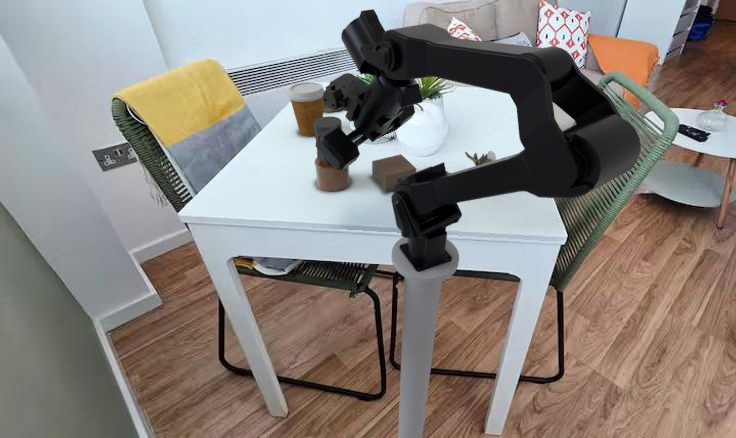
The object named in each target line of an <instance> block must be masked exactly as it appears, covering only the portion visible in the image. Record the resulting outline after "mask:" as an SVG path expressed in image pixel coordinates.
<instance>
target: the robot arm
mask: <svg viewBox="0 0 736 438" xmlns="http://www.w3.org/2000/svg"><path fill="white" fill-rule="evenodd" d="M340 38H341V42H342V43H343V45H344V46H345V47H344V48H345V49H346V50H347V52H348V54H349V56H350V57H351V60H352V62H353V63H354V64H355V67H356V68H357V70H358V72H359V74H360V75H370V76H372V78H371V80H370V82H369V84H368V83H367V82H365V80H363V79H361V78H359V77H357V76H356V75H354V74H353V73H350V72H345V73H343V74H342V75H340V76H338V77H336V78H334V79H333V80H331V81H330V82H329V84H328V85H327V86H325V89H324V90H325V92H323V101H324V103H325V105H327V106H328V107H330V108H331V109H333V110H337V109H338V108H341V110H343V111H345V112H346V113H345V116H344V117H345V119H347V120H348V122H350V123H352V122H353V127H354V129H353V130H352V131H350V132H349V133H348V134H346V133H345V131H344V130H343V129H342V130H341V128H340V127H338V126H332V127H331V128H329V129H328V130H326V131H325V132H323V133H322V134H320V135H319V136H318V138H317V140H316V139H315V148H316V150H317V149H318V150H319V151H320V152H321V153H322V154H323V155H324V156H325V157H326V158H327V159H328V160H329V162H330V163H331V164H332V165H333V166H334V167H335V168H336V169H337V170H341V171H342V170H344V169H345V168H347V167H348V166H349V167H350V166H351V165H353V163H355V162H356V161H357V159H358V158H359V157H360V155H361V152H360V150H359V147H360V146H361V145H362V144H364V143H365V142H366V141H367V140H369V141H370V142H371V143H374V142H375V141H376V140H378V139H381V138H383V136H384V135H386V134H389V133H391V132H393V131H395V130H397V131H398V130H399V128H401V127H402V126H403V125H405V124H406V123H407V122H409V121H410V120H411V119H412V118H413V117H414V115H415V114H416V110H415V105H418V104H421V103H423V100H424V99H423V98H424V97H423V93H422V92H421V89H420V83H417V80H416V79H423V78H438V79H441V80H447V81H451V82H455V83H460V84H463V85H467V86H472V87H477V88H480V89H484V90H490V91H494V92H497V93H502V94H507V95H509V96H510V99H511V100H512V102H513V104H514V105H515V107H516V117H517V128H518V135H519V136H518V137H519V141H520V143H521V145H522V146H523V150H521V151H520V152H518V153H515V154H512V155H508V156H505V157H501V158H498V159H496V160H494V161H491V162H488V163H484V164H481V165H478V166H475V165H474V166H471V167H468V168H464V169H461V170H458V171H454V172H449V171H447V169H446V164H445V162H444V161H443V162H440V163H437V164H436V165H431V166H428V167H426V168H423V169H420V170H418V171H417V170H416V172H415V173H412V174H410V175H407V176H404V177H402V178H399V179H397V182H398V183H399V184H396V185H395V186H394V188H393V191H392V192H393V194H392V195H391V200H390V201H391V205H392V210H393V215H394V221H395V224H396V227H397V229H399V230H400V236H401V237H404V238H408V243H405V244H401V245H400V246H399V249H400V250H401V251H402V253H403V254H404V255H405V257H406V258H407V260H408V261H409V262H410V264H411V265H412V266H413V268H414V269H415V270H416V271H417V272H421V271H423V270H426V269H429V268H432V267H435V266H438V265H441V264H444V263H447V262H450V261H452V256H451V255H450V254H449V253H448V252H447V251H446V250H445V247H446V239H447V240H448V231H447V227H450V226H451V225H453V224H457V223H458V222H460V220H461V218H462V217H463V213H462V211H461V209H460V207H459V204H458V203H463V202H470V201H475V200H480V199H486V198H487V199H488V198H491V197H497V196H503V195H509V194H513V193H520V192H521V193H522V192H525V193H528V194H530V195H532V196H534V197H537V198H541V199H543V198H544V199H561V200H562V199H564V200H565V199H566V200H571V199H572V200H573V199H577V198H580V197H583V196H586V195H587V194H589V193H591V192H593V191H595V190H596V189H598V188H600V187H602V186H604V185H606V184H608V183H609V182H611V181H613V180H615V179H617V178H618V177H620V176H622V175H624V174H625V173H628V172H629V171H630V170H632V169H633V168H634V166H635V165H636V164H637V161H638V160H639V158H640V155H641V150H642V146H641V145H642V144H641V138H640V136H639V134H638V131H637V129H636V128H635V126H633V125H632V124H631V123H630V122H629V121H628V120H626V119H624V118H623V117H622V115H621V113H620V111H619V110H618V109H617V107H616V105H615V104H614V101H612V99H611V97H610V96H609V95H608V94H607V93H606V92H605V91H604V90H602V88H600V87H599V86H598V85H596V84H595V83H594V82H593V81H592V80H590V78H588V77H587V76H586V75H585V74H584V73H583V72H582V71H581V70H580V69H579V67H578V65H577V63H576V61H575V60H574V58H573V56H572V55H571V53H569V52H568V51H567V50H566V49H564V48H561V47H559V46H556V45H551V46H550V45H549V46H547V47H538V46H530V45H520V44H519V45H518V44H510V43H502V42H494V41H484V40H476V39H468V38H467V39H466V38H458V37H456V36H453V35H451V34H450V32H449V31H448V30H447V29H446V28H444V27H440V26H438V25H435V24H433V23H429V22H427V23H421V24H416V25H410V26H402V27H396V28H391V29H388V30H387V29H385V28H384V26H383V25H382V23H381V21H380V19H379V16H378V14H377V13H376V11H375V9H373V8H372V9H365V10H361V11H360V14H359V16H357V17H356V18H354V19H352V21H350V22H349V23H348V24H347V25H346V26H345V28H343V29H342V31H341V35H340ZM554 105H555V106H557V107H558V108H559V109H561V110H562V111H563V112H564V113H565V114H567V116H569V117H570V118H571V119H572V120H573V121H574V123H575V124H574V125H572V126H570V127H567V128H565V129H561V127H560V125H559V123H558V122H557V120H556V117H555V110H554ZM337 111H338V110H337ZM449 258H450V259H449ZM418 268H419V269H418Z"/></svg>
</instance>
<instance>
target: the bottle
mask: <svg viewBox="0 0 736 438" xmlns="http://www.w3.org/2000/svg"><path fill="white" fill-rule="evenodd" d="M314 167H315V168H314V169H315V176H316V182H317V187H318V188H319V189H320V190H323V191H325V192H338V191H342V190H344V189H346V188H347V187H349V185H350V184H351V183H350V182H351V177H350V165H349V166H348V167H347V168H345V169H344V170H342V171H341V170H337V169H336V168H335V167H334V166H333V165H332V164H331V163H330V162H329V163H326V162H322V161H320V160H318V158H317V157H316V158H315V159H314Z"/></svg>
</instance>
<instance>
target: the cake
mask: <svg viewBox="0 0 736 438" xmlns="http://www.w3.org/2000/svg"><path fill="white" fill-rule="evenodd" d="M340 110H342V109H341V108H338V109H337V110H333V109H331V108H330V107H328V106H327V105H325V103H324V101H323V113H331V112H337V111H340Z"/></svg>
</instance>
